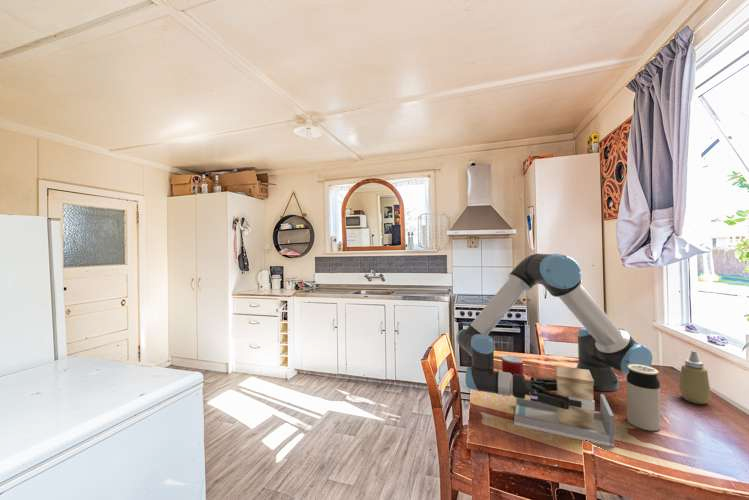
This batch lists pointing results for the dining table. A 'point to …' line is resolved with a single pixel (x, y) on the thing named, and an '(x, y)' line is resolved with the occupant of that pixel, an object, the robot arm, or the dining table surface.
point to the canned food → (512, 364)
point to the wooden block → (575, 386)
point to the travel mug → (643, 397)
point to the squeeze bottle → (694, 381)
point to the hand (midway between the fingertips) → (591, 398)
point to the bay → (547, 421)
